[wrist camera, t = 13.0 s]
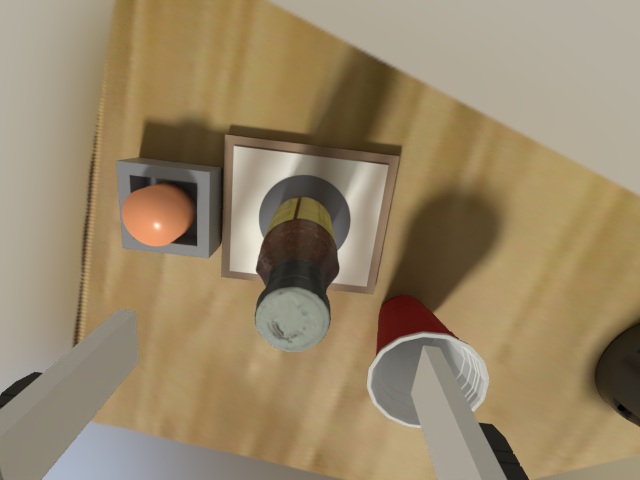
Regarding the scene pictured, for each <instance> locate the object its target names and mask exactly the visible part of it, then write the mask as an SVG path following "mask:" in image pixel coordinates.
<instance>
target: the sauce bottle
mask: <svg viewBox="0 0 640 480" xmlns="http://www.w3.org/2000/svg"><path fill="white" fill-rule="evenodd" d="M339 270H340V266H339V262H338V252H337V246H336V241H335V237H334V232H333V228H332V223H331V218H330V215H329V213H328V212H327V210H326V209H325V208H324V207H323V205H322V204H321V203H320V202H319V201H316V200H314V199H312V198H308V197H303V196H297V197H293V198H291V199H289V200H287V201H286V202H284V203H283V204H281V205H280V206H279V208H278V209H277V211H276V212H275V214H274V216H273V218H272V221H271V223H270V226H269V228H268V230H267V233H266V235H265V237H264V239H263V242H262V245H261V248H260V253H259V256H258V261H257V266H256V273H257V274H258V275H259V276H260V277H261V279H262V280H263V282H264V284H265V285H266V288H265V289H264V291H263V292H262V293H261V295H260V296H259V298H258V301H257V306H256V312H255V324H256V327H257V329H258V332H259V334H260V336H261V337H262V338H263V339H264V340H265V341H267V342H268V343H269V344H270V345H272V346H274V347H276V348H278V349H281V350H283V351H289V352H300V351H304V350H307V349H309V348H311V347H313V346H315V345H316V344H318V343H319V342H320V341H321V340H322V339H323V338H324V336H325V335H326V333H327V331H328V329H329V325H330V320H331V317H330V303H329V300H328V297H327V295H326V290H327V288H328V287H329V285H330V284H331V283H332V282H333V281H334V279H335V278H336V277H337V276H338V273H339Z"/></svg>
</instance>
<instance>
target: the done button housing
mask: <svg viewBox="0 0 640 480" xmlns="http://www.w3.org/2000/svg"><path fill="white" fill-rule="evenodd" d="M116 168H117V181H118V193H119V206H120V219H121V232H122V245H123V248H124V249H133V250H142V251H150V252H159V253H167V254H176V255H184V256H193V257H201V258H209V257H210V256H211V255H212V254H213V253H214V252H215V251H216V250H217V249H218V248H219V246H220V237H221V194H222V168H221V167H213V166H204V165H196V164H188V163H180V162H172V161H164V160H156V159H147V158H139V157H138V158H131V159H125V160H118V161H116ZM163 182H167V183H173V184H176V185H178V186H180V187H181V188H183V189H184V190H185V191H186V192H187V193H188V194H189V195H190V196H191V198H192V199H193V202H194V204H195V208H196V218H195V221H194V223H193V225H192V227H191V228H190V229H189V230H188V231H186V232H185V233H184V234H182V235H181V236H179V237H178V238H177V239H175V240H174V241H173V242H171V243H169V244H167V245H164V246H149V245H146V244H144V243H141V242H140V241H138V240H137V239H135V238H134V237H133V236H132V235H131V234H130V233H129V232H128V230H127V229H126V227H125V225H124V222H123V219H122V207H123V203H124V201H125V200H126V198H127V197H128V196H129V195H130V194H131V193H132V192H134V191H136V190H139V189H142V188H145V187H148V186H151V185H154V184H157V183H163Z"/></svg>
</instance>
